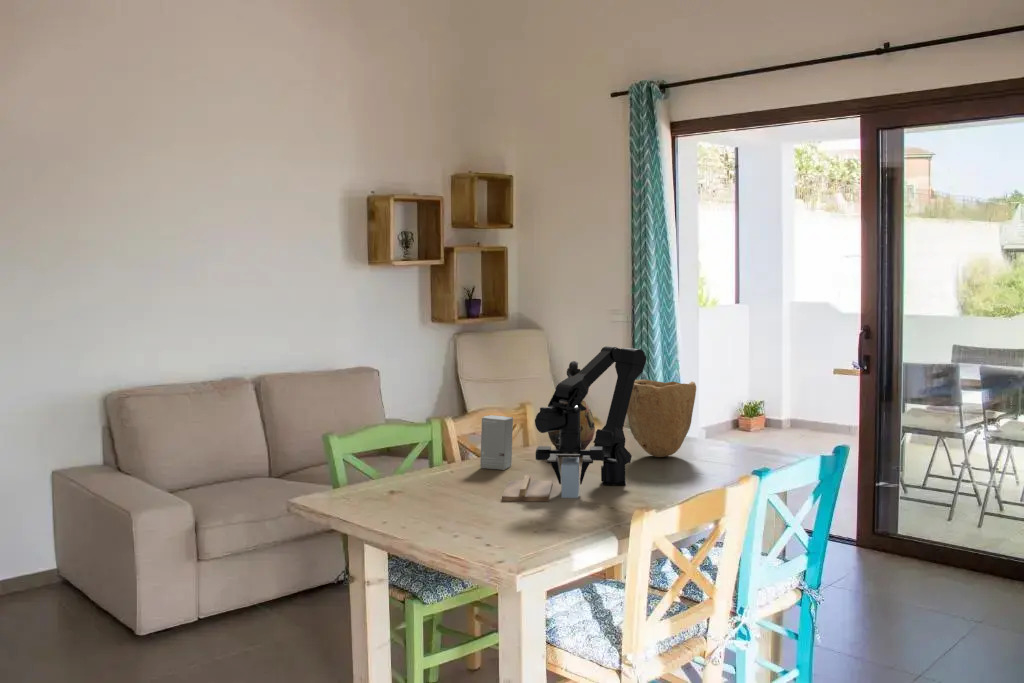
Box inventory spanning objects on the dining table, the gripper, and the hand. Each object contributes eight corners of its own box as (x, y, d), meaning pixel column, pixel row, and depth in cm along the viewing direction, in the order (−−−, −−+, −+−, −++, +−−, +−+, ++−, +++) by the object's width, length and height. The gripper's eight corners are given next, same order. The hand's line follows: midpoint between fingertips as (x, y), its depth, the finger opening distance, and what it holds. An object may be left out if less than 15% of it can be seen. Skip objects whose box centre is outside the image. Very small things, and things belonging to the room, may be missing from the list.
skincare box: (480, 468, 301) (479, 417, 300) (489, 463, 308) (488, 414, 306) (505, 470, 298) (504, 419, 296) (514, 465, 304) (513, 415, 303)
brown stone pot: (707, 454, 317) (707, 377, 314) (680, 467, 298) (680, 386, 296) (643, 447, 329) (643, 373, 326) (613, 460, 310) (613, 381, 308)
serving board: (552, 484, 279) (552, 474, 279) (548, 501, 261) (548, 490, 261) (509, 484, 280) (508, 474, 280) (502, 500, 263) (501, 489, 262)
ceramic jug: (596, 457, 315) (596, 364, 312) (548, 457, 315) (547, 365, 312) (593, 446, 332) (592, 358, 329) (547, 447, 332) (546, 359, 329)
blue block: (579, 489, 274) (579, 457, 273) (578, 498, 264) (577, 465, 264) (563, 488, 275) (563, 457, 274) (561, 498, 265) (561, 465, 264)
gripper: (604, 423, 275) (604, 477, 276) (538, 422, 277) (538, 477, 278) (604, 430, 264) (604, 487, 265) (535, 430, 266) (535, 486, 267)
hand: (570, 484), depth 269 cm, fingers open, 5 cm apart
